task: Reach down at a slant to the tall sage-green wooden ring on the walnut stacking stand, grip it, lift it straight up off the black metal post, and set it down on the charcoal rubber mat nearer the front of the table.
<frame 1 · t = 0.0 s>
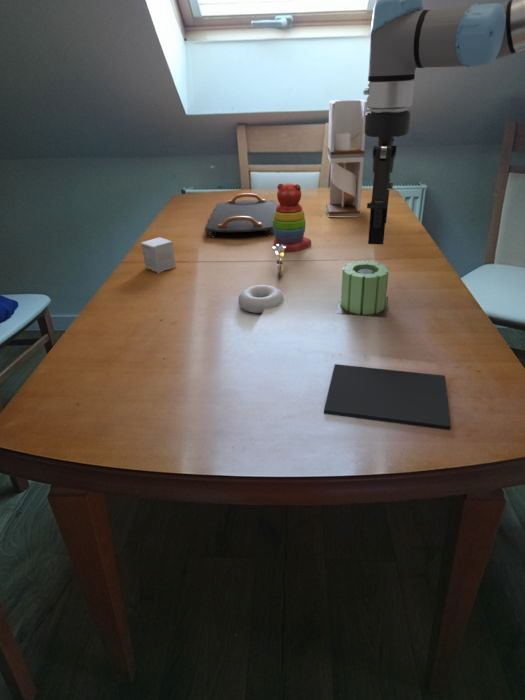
hand: (377, 232, 90), 17 cm above the table, tool pointing down, fingers open, 13 cm apart
donut: (261, 306, 103), on the table
product box: (160, 268, 126), on the table
stacking stand: (362, 311, 99), on the table
ring: (279, 275, 118), on the table
stacking bear: (289, 247, 137), on the table
rubber mat: (386, 395, 73), on the table
sage ring: (363, 304, 98), point 1 cm above the table, touching stacking stand
spiral ramp tower: (342, 213, 165), on the table
serving tray: (244, 222, 161), on the table
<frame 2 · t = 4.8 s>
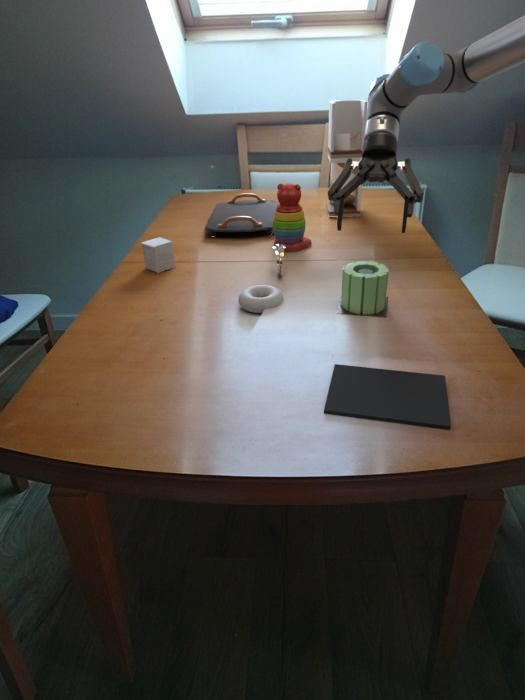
hand: (370, 229, 100), 15 cm above the table, tool tilted 45°, fingers open, 13 cm apart
nothing on the table moved.
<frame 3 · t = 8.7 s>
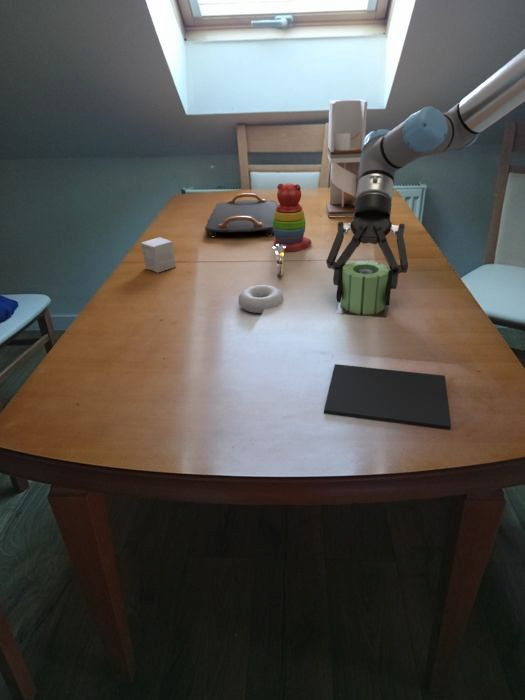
hand: (362, 301, 94), 4 cm above the table, tool tilted 45°, fingers closed on sage ring, 9 cm apart
sage ring: (363, 304, 98), point 2 cm above the table, touching gripper, stacking stand
everything else where it was.
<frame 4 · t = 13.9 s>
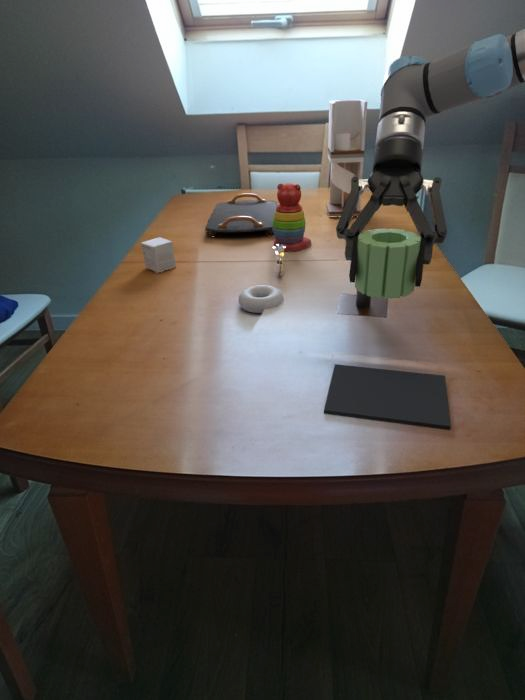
hand: (384, 281, 70), 17 cm above the table, tool tilted 45°, fingers closed on sage ring, 9 cm apart
sage ring: (384, 286, 74), point 14 cm above the table, touching gripper
everything else where it was.
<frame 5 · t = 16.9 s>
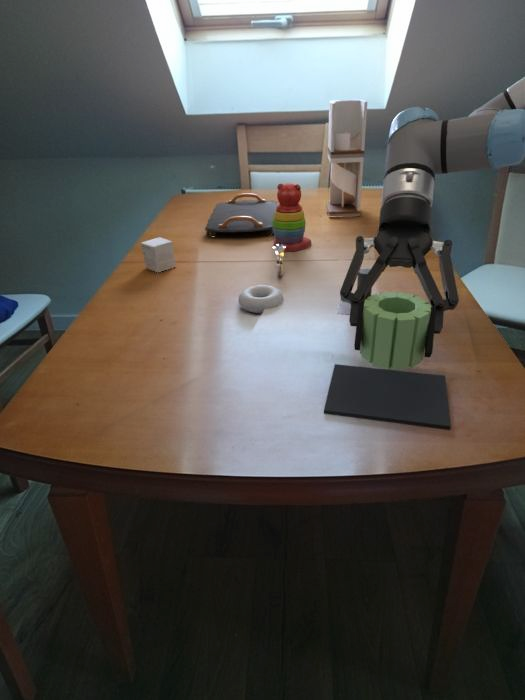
hand: (392, 351, 66), 10 cm above the table, tool tilted 45°, fingers closed on sage ring, 9 cm apart
sage ring: (391, 353, 69), point 8 cm above the table, touching gripper
everything else where it was.
when the fingers open (3 cm above the table, at t = 19.4 s): sage ring stays where it is, resting on rubber mat.
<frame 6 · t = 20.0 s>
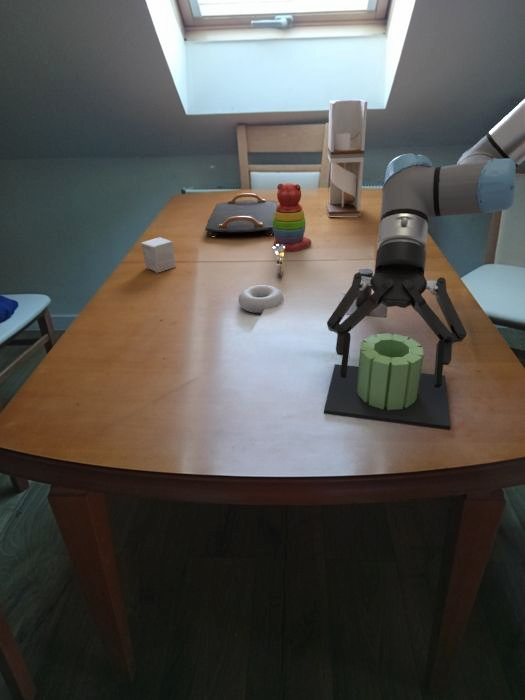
hand: (389, 381, 69), 4 cm above the table, tool tilted 45°, fingers open, 13 cm apart
sage ring: (386, 391, 73), point 1 cm above the table, touching rubber mat
everything else where it was.
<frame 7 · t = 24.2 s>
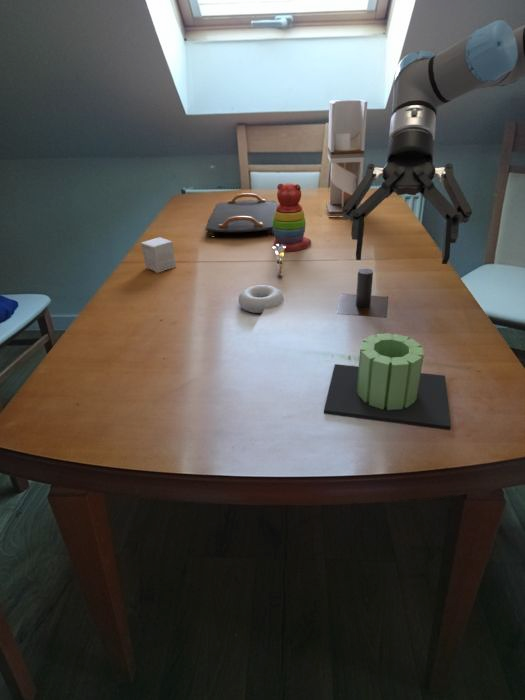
hand: (400, 259, 75), 18 cm above the table, tool tilted 45°, fingers open, 13 cm apart
nothing on the table moved.
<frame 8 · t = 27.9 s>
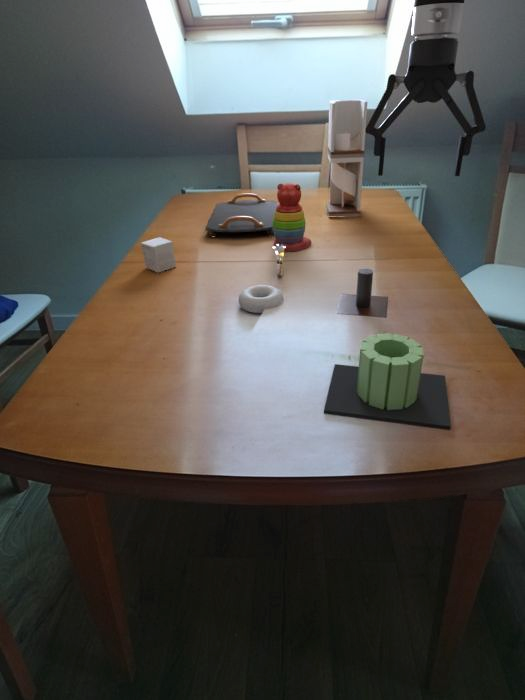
hand: (417, 174, 87), 27 cm above the table, tool pointing down, fingers open, 13 cm apart
nothing on the table moved.
at the end: sage ring inside the target area on the rubber mat (0.1 cm from its centre), point 0.6 cm above the rubber mat's base; sage ring tilted 0°; the gripper is holding nothing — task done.
